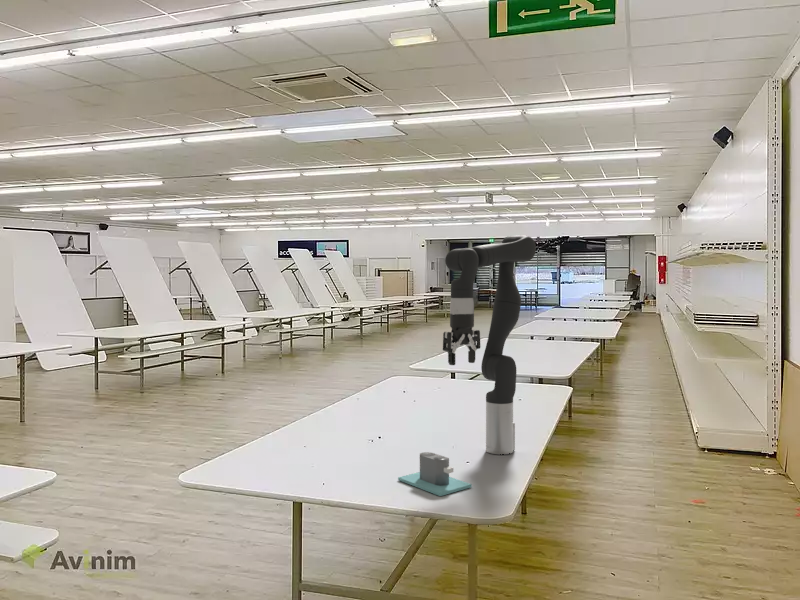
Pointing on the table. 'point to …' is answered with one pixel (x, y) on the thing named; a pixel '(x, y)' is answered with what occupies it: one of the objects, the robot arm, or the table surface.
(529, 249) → the robot arm
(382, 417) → the table surface
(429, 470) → the plug block
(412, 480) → the mat
